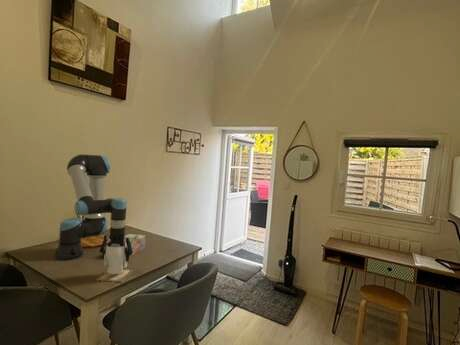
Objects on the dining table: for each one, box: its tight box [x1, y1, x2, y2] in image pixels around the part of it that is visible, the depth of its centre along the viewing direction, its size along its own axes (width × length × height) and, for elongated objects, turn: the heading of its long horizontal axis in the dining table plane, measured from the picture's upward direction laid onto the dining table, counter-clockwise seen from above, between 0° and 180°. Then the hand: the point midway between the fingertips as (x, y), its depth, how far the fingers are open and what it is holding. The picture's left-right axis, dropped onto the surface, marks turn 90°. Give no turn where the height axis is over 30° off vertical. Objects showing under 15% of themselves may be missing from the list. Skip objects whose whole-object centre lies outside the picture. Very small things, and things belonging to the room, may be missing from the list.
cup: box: [105, 242, 126, 274], centre depth 139 cm, size 11×11×15 cm
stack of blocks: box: [124, 233, 147, 257], centre depth 173 cm, size 21×6×12 cm, turn 160°
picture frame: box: [94, 268, 134, 283], centre depth 139 cm, size 14×14×1 cm
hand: (115, 265), depth 139 cm, fingers closed on cup, 10 cm apart
